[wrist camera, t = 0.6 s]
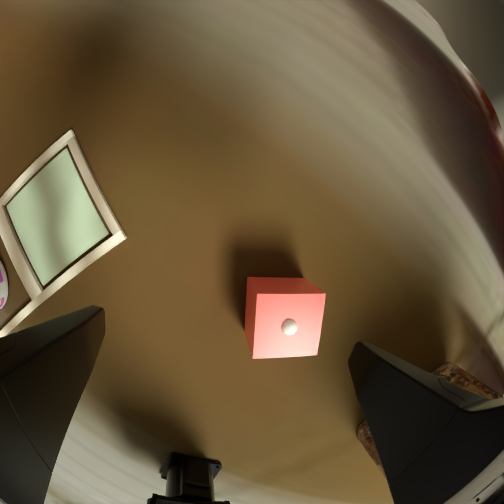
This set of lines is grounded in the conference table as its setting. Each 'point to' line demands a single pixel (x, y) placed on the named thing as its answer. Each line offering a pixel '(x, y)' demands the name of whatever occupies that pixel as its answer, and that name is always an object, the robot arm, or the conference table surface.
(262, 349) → the red die
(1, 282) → the supplement bottle
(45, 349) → the robot arm
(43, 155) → the silver picture frame
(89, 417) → the conference table surface
